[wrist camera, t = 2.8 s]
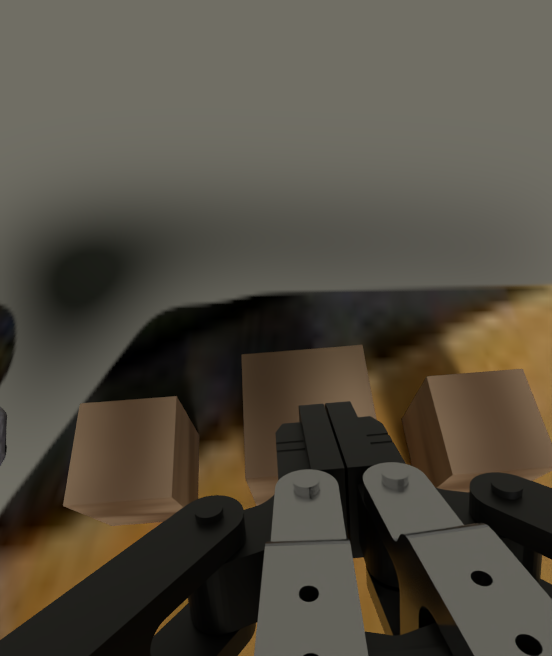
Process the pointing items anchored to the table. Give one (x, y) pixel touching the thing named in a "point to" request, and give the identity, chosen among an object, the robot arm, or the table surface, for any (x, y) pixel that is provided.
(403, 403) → the table surface
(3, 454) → the stone block
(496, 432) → the block one
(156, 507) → the block seven
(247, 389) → the plain pillar
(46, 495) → the table surface
